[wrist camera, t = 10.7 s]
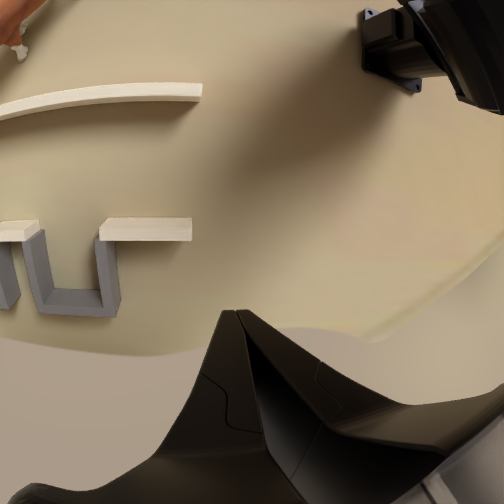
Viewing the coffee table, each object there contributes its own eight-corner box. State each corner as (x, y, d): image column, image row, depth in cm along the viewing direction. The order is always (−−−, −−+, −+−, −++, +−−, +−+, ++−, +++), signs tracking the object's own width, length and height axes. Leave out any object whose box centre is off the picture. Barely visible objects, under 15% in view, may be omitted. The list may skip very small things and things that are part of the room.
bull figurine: (-23, 74, 10) (-83, 67, 3) (97, -44, 9) (73, -97, 2) (-5, 101, 12) (-72, 99, 4) (123, -25, 11) (103, -84, 3)
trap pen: (200, 90, 16) (203, 81, 13) (190, 299, 22) (192, 322, 19) (-68, 136, 10) (-87, 139, 7) (-49, 287, 15) (-63, 301, 13)
